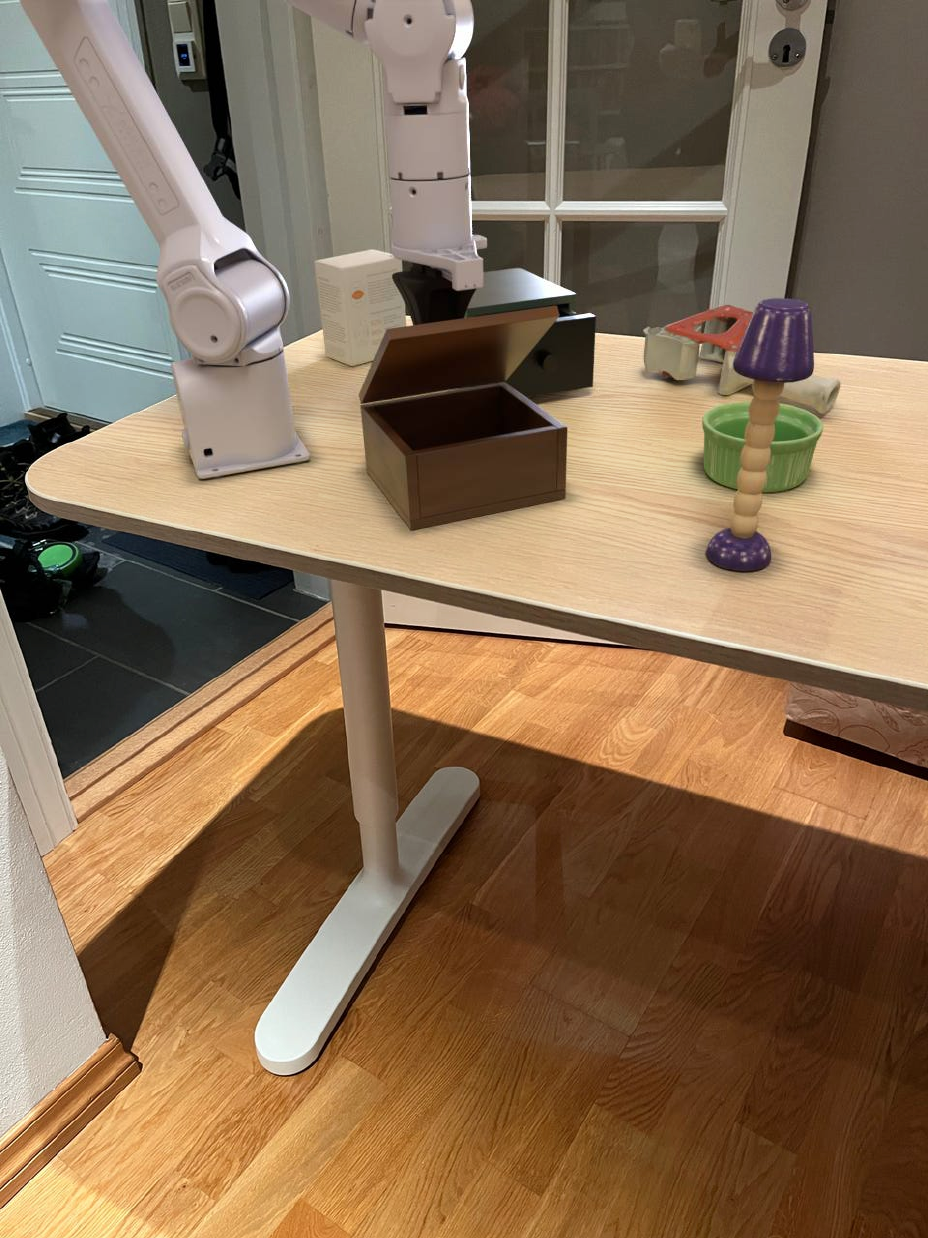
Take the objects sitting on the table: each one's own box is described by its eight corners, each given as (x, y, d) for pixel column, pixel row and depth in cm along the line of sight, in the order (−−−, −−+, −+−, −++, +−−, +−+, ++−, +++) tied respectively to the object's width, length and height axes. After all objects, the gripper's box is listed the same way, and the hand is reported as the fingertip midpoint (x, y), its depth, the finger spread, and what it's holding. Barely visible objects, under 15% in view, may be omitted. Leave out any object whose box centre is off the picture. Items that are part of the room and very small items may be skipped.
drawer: (599, 390, 87) (602, 319, 84) (500, 407, 84) (499, 333, 81) (538, 353, 98) (539, 288, 95) (449, 367, 95) (446, 300, 92)
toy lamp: (728, 533, 64) (762, 289, 55) (791, 553, 61) (838, 299, 52) (694, 559, 61) (724, 305, 52) (759, 581, 58) (803, 317, 49)
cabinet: (574, 379, 93) (576, 293, 88) (469, 397, 90) (466, 308, 85) (519, 345, 104) (519, 267, 99) (424, 360, 101) (420, 279, 96)
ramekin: (697, 448, 77) (702, 398, 74) (808, 454, 75) (817, 402, 73) (696, 493, 70) (702, 439, 67) (819, 500, 68) (830, 445, 65)
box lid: (559, 315, 64) (557, 305, 64) (389, 340, 60) (386, 328, 60) (506, 380, 75) (503, 371, 75) (360, 404, 72) (358, 394, 72)
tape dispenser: (840, 434, 82) (796, 354, 98) (855, 378, 79) (808, 305, 95) (644, 425, 83) (633, 347, 99) (652, 369, 80) (639, 299, 96)
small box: (381, 342, 107) (373, 248, 101) (409, 352, 103) (403, 254, 98) (324, 356, 103) (312, 259, 97) (351, 367, 99) (340, 266, 94)
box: (565, 498, 70) (567, 426, 66) (410, 530, 66) (405, 456, 63) (505, 446, 79) (505, 381, 76) (366, 472, 75) (360, 404, 72)
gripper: (524, 182, 59) (523, 385, 67) (446, 161, 71) (453, 336, 78) (422, 191, 57) (434, 400, 65) (360, 168, 69) (375, 347, 76)
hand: (439, 366), depth 71 cm, fingers closed
